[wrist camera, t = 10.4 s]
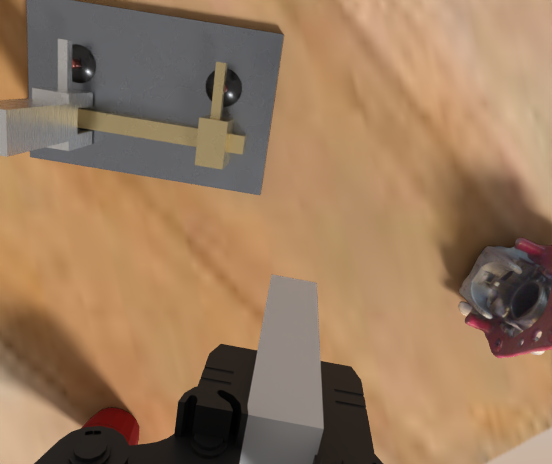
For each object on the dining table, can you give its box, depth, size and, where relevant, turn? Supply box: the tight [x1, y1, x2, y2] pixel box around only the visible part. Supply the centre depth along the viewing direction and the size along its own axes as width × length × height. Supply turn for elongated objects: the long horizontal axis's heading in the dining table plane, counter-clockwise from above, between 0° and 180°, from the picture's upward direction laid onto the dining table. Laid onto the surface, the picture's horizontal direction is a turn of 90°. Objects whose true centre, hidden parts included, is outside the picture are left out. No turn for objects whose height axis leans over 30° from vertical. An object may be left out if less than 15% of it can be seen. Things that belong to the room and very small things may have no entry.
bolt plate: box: [27, 0, 284, 195], centre depth 40 cm, size 14×22×1 cm, turn 81°
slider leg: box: [0, 39, 93, 157], centre depth 34 cm, size 9×3×12 cm, turn 171°
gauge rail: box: [77, 62, 246, 169], centre depth 39 cm, size 8×18×3 cm, turn 81°
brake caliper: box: [458, 238, 552, 358], centre depth 41 cm, size 11×11×12 cm
